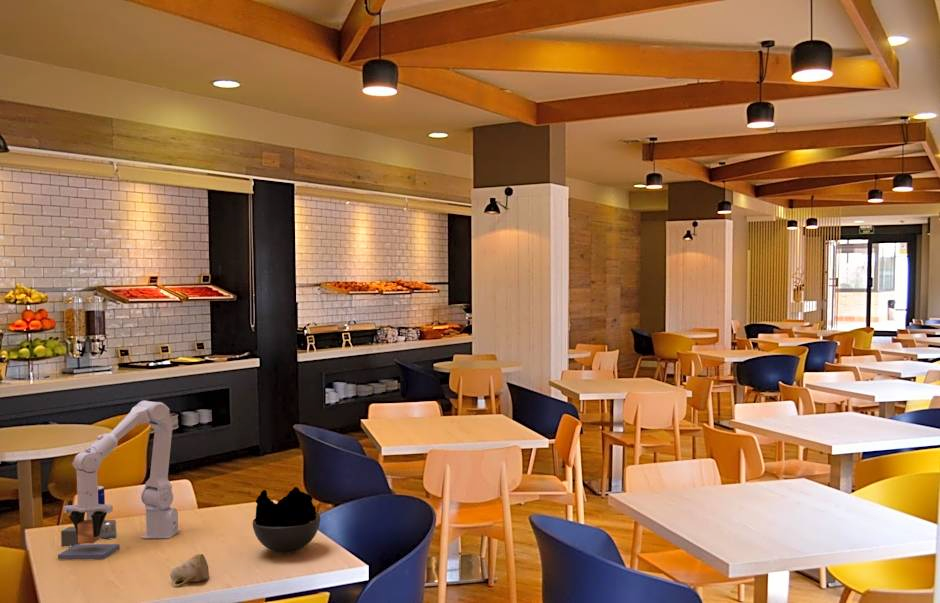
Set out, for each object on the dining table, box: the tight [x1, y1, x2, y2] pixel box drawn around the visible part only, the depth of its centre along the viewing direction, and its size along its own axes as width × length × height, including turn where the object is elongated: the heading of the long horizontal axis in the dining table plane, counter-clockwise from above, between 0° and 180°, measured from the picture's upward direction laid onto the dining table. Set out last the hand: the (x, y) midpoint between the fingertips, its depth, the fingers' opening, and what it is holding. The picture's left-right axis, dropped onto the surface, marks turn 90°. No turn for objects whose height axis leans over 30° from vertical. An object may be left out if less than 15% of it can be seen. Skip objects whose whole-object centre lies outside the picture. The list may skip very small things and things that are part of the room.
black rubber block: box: [60, 526, 78, 547], centre depth 260 cm, size 4×4×5 cm
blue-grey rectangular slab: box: [57, 543, 121, 560], centre depth 249 cm, size 14×10×2 cm
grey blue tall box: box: [86, 485, 106, 521], centre depth 272 cm, size 6×6×15 cm
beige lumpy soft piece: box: [169, 553, 210, 588], centre depth 223 cm, size 8×10×10 cm
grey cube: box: [100, 519, 117, 540], centre depth 266 cm, size 5×5×5 cm
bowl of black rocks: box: [252, 486, 321, 554], centre depth 247 cm, size 20×20×19 cm
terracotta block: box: [78, 519, 101, 544], centre depth 249 cm, size 4×4×6 cm
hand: (88, 536), depth 249 cm, fingers closed on terracotta block, 4 cm apart
